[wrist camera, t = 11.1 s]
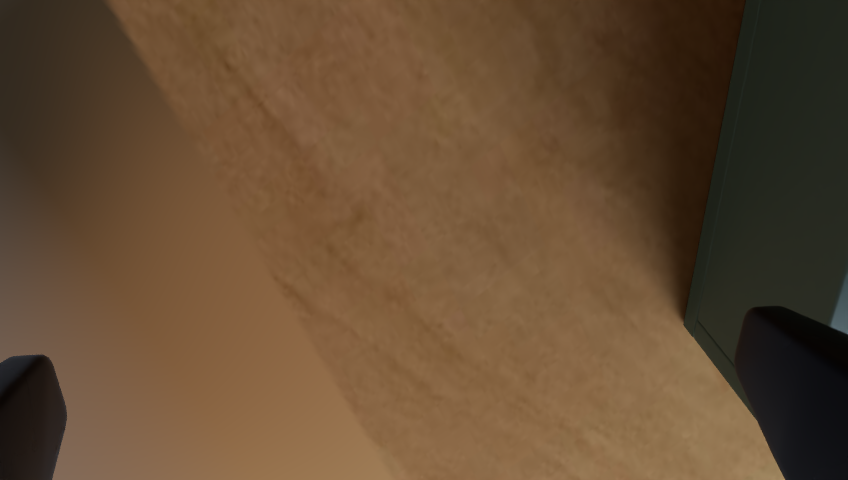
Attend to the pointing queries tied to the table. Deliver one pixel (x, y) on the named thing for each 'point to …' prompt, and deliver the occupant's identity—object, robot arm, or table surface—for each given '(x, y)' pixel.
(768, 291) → the bin
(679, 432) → the table surface
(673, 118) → the table surface
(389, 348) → the table surface
